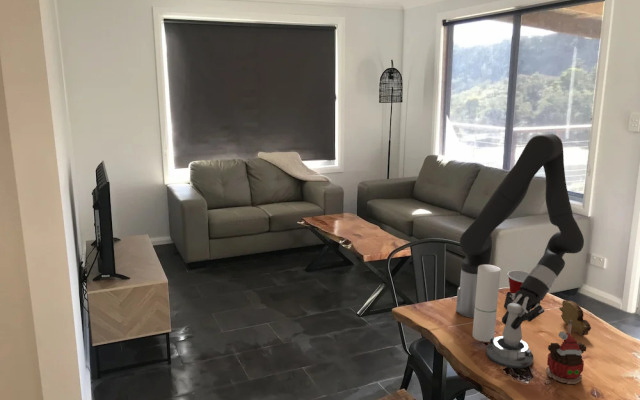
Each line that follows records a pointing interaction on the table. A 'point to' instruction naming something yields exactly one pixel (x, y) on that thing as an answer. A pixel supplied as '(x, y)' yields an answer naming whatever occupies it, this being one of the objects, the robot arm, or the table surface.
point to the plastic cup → (516, 280)
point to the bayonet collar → (509, 353)
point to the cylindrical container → (486, 302)
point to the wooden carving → (574, 317)
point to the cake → (566, 359)
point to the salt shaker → (510, 334)
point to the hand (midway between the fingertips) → (508, 325)
